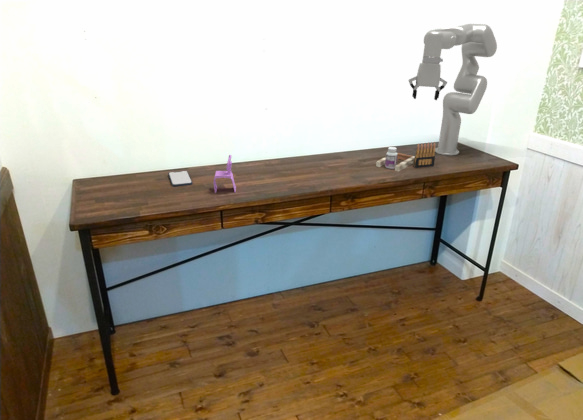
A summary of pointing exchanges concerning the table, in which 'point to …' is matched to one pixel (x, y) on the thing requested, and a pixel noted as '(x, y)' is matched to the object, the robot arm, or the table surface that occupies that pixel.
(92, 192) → the table surface
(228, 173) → the toy chair
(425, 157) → the ammunition clip
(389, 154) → the pill bottle
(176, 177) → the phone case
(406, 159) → the guide channel
